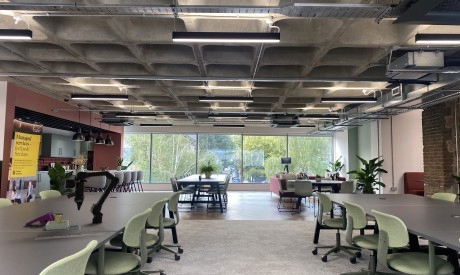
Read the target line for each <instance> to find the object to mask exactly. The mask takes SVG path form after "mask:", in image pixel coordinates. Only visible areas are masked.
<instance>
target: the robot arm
mask: <svg viewBox="0 0 460 275" xmlns="http://www.w3.org/2000/svg"><path fill="white" fill-rule="evenodd" d="M103 176H104V177H106V179H108V182H107V186H106V188H105V190H104V191H103V192H102V194H101V195H100V197H99V199H98V201H97V202H95V203H92V205H91V207H90V213H91V215H92V216H93V217H92V219H91V222H92V224H96V225H97V224H102V223H103V217H104V213H103V212H102V208H103V205H104V203H105V201H106V200H107V198H108V196H109V195H110V193H111V192H112V190H113V188H115V187H116V186H117V185H118V183H119V182H120V178H119V177H117V176H115V175H113V174H112V173H111V172H110V171H109V170H102V171H101V170H100V171H98V170H97V171H81V170H79V171H76V173H75V176H74V177H73V178H72V179H71V178H70V179H68V178H67V179H65V181H64V184H63V186H64V189H65V190H67V189H68V190H69V189H74V188H75V190H74V191H73V192H68V193H67V194H66V197H67V199H71V198H73V202H74V203H75V204H76V207H77V211H80V210H81V209H82V208H81V207H82V205H83V203H84V202H85V183H88V180H87V179H88V178H96V177H103Z"/></svg>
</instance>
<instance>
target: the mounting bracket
mask: <svg viewBox="0 0 460 275" xmlns="http://www.w3.org/2000/svg"><path fill="white" fill-rule="evenodd" d="M55 220H56V215H55V214H54V212H53V211H52V210H51V211H49V212H47V213H45V214H43V215H40V216H38V217H36V218H34V219H32V220H30V221H28V222H26V223H25V226H26V227H28V226H31V225H33V224H35V223H37V222H39V224H40V225H41V226H42V227H46V224H47V223H48V222H49V221H55Z"/></svg>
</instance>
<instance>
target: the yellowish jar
mask: <svg viewBox="0 0 460 275" xmlns="http://www.w3.org/2000/svg"><path fill="white" fill-rule="evenodd" d="M62 216H63V215H61V214H59V215H55V224H61V221H62Z"/></svg>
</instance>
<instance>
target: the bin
mask: <svg viewBox="0 0 460 275" xmlns="http://www.w3.org/2000/svg"><path fill="white" fill-rule="evenodd" d="M69 226H70V220H69V219H67V220H66V219H65V220H61V224H55V221H49V222H48V223H47V224H46V225H45V230H46V231H49V230H51V231H52V230H64V229H65V230H66V229H68V228H69Z"/></svg>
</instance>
